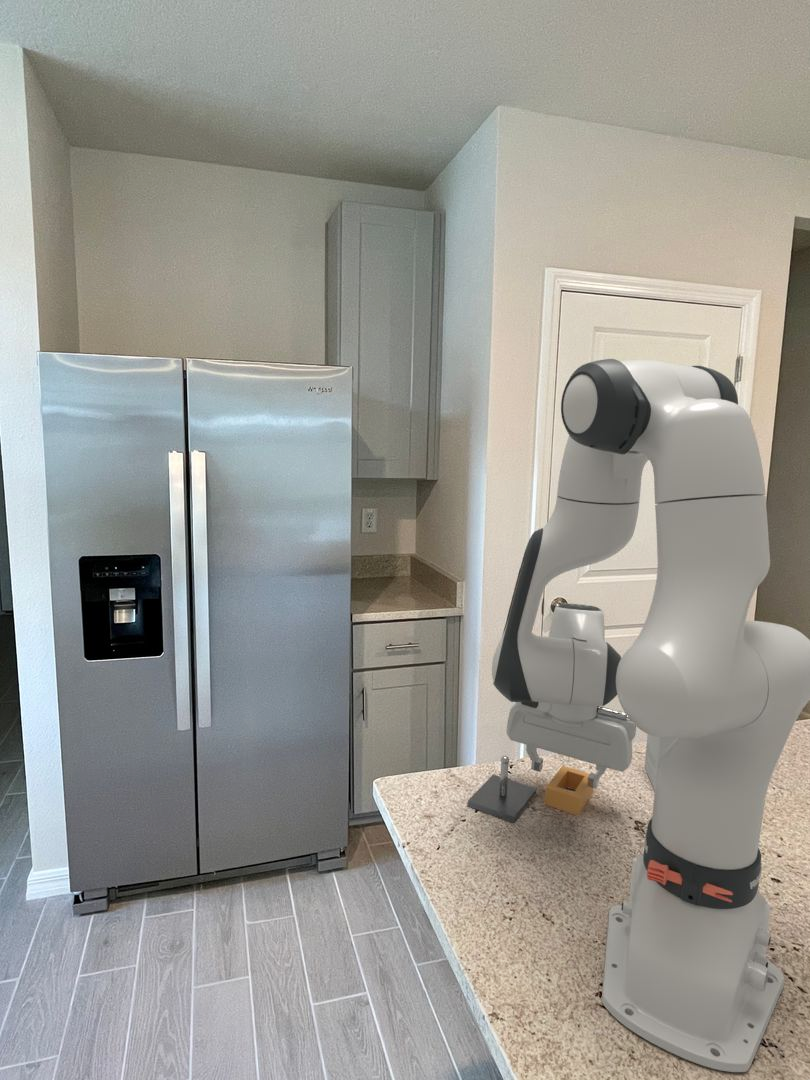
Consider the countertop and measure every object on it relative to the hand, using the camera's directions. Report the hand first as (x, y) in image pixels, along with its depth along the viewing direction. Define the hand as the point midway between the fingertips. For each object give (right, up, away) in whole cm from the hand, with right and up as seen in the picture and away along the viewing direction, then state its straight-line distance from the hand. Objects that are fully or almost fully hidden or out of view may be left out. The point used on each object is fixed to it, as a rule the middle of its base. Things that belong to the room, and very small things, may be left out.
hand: (564, 777), depth 107 cm
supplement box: (+21, -3, +6) cm, 22 cm away
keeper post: (-10, -3, -1) cm, 11 cm away
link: (+1, -3, 0) cm, 4 cm away
